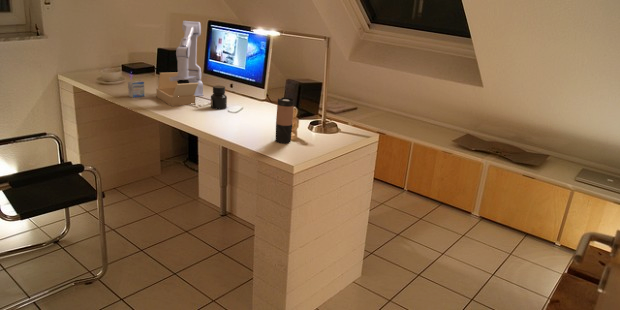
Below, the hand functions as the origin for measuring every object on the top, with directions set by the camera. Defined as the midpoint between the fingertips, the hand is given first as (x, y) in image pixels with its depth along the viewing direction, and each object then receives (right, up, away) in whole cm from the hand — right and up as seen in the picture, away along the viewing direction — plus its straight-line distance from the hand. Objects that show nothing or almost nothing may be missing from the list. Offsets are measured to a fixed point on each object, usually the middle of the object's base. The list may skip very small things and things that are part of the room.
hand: (183, 93), depth 269 cm
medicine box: (-30, -1, +11) cm, 32 cm away
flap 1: (-11, +9, +13) cm, 19 cm away
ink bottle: (+19, -8, +3) cm, 21 cm away
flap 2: (+2, +2, -3) cm, 4 cm away
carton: (-7, -3, +10) cm, 12 cm away
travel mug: (+58, -28, -43) cm, 78 cm away
